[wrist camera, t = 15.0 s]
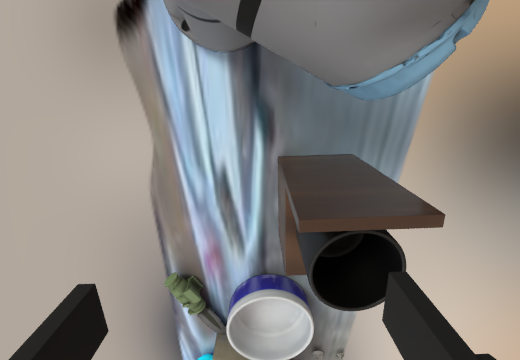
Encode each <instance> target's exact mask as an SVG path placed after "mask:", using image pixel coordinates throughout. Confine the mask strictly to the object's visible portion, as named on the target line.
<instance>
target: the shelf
mask: <svg viewBox="0 0 520 360" xmlns="http://www.w3.org/2000/svg"><path fill="white" fill-rule="evenodd" d="M278 207H279V238H280V244H281V250H282V257H283V263H284V269H285V275H286V276H287V275H307V273H306V270H305V266H304V262H303V259H302V255H301V252H300V248H299V244H298V241H297V237H296V226H297V229H298V232H299V233H305V232H331V231H357V230H384V229H409V228H435V227H443V224H444V218H445V214H444V213H442V212H441V211H439V210H438V209H436V208H435V207H433V206H431V205H430V204H428V203H427V202H425V201H424V200H422V199H421V198H419V197H418V196H416V195H415V194H413V193H411V192H410V191H408V190H407V189H405V188H404V187H402V186H401V185H399V184H398V183H396V182H395V181H393V180H392V179H390V178H389V177H387V176H385V175H384V174H382V173H381V172H379V171H378V170H376V169H375V168H373V167H372V166H370V165H369V164H367V163H366V162H364V161H363V160H361V159H359V158H358V157H356V156H355V155H353V154H339V155H312V156H285V157H278Z"/></svg>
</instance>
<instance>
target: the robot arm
mask: <svg viewBox="0 0 520 360" xmlns="http://www.w3.org/2000/svg"><path fill="white" fill-rule="evenodd" d="M488 2H489V0H164V3H165V6H166V8H167V10H168V13H169V14H170V16H171V18H172V20H173V21H174V23H175V24H176V26H177V27H178V28H179V29H180V30H181V31H182V32H183V34H185V35H186V36H187V37H188V38H189V39H190V40H192V41H193V42H195V43H196V44H198V45H199V46H201V47H203V48H206V49H209V50H212V51H216V52H233V51H238V50H241V49H244V48H246V47H248V46H250V45H251V44H253V43H254V42H257V43H259V44H260V45H262V46H264V47H265V48H267V49H269V50H271V51H272V52H274V53H276V54H278V55H279V56H281V57H283V58H285V59H286V60H288V61H290V62H291V63H293V64H295V65H297V66H298V67H300V68H302V69H304V70H305V71H307V72H309V73H311V74H312V75H314V76H316V77H317V78H319V79H321V80H323V82H324V83H325V84H326V85H328V86H329V87H333V88H334V89H338V90H342V91H344V92H346V93H348V94H350V95H352V96H354V97H356V98H359V99H362V100H380V99H384V98H388V97H391V96H393V95H396V94H398V93H400V92H402V91H404V90H406V89H407V88H409V87H411V86H413V85H414V84H416V83H417V82H419V81H420V80H422V79H423V78H425V77H426V76H427V75H428V74H430V73H431V72H432V71H434V70H435V69H436V68H437V67H438V66H439V65H441V64H442V63H443V62H444V61H445V60H446V59H447V58H448V57H449V56H450V55H451V54H452V53H453V52H454V51H455V50H456V46H455V44H456V42H457V41H459V40H460V39H461V38H463V37H465V36H467V35H469V34H470V33H471V32H472V30H473V29H474V28H475V26H476V25H477V23H478V22H479V20H480V19H481V17H482V15H483V13H484V12H485V10H486V7H487V5H488ZM382 321H383V322H384V324H385V326H386V328H387V330H388V332H389V334H390V335H391V337H392V339H393V341H394V342H395V344H396V346H397V348H398V350H399V352H400V354H401V355H402V357H403V359H404V360H496V359H495V358H494V357H492V356H491V355H490V354H474V353H473V351H472V350H471V349H470V348H469V347H468V345H467V344H466V343H465V342H464V341H463V339H462V338H461V337H460V336H459V335H458V333H457V332H456V331H455V330H454V329H453V327H452V326H451V325H450V324H449V323H448V321H447V320H446V319H445V318H444V317H443V315H442V314H441V313H440V312H439V310H437V308H436V307H435V306H434V305H433V303H432V302H431V301H430V300H429V298H428V297H427V296H426V295H425V294H424V292H423V291H422V290H421V289H420V288H419V286H418V285H417V284H416V283H415V282H414V280H413V279H412V278H411V277H410V276H409V274H408V273H407V272H389V276H388V283H387V290H386V297H385V304H384V311H383V319H382ZM107 333H108V328H107V324H106V320H105V317H104V313H103V310H102V306H101V303H100V299H99V296H98V292H97V289H96V285H95V284H78V285H77V286H76V287H75V288H74V289H73V290H72V291H71V292H70V294H69V295H68V296H67V297H66V298H65V299H64V300H63V301H62V302H61V303H60V304H59V306H58V307H57V308H56V309H55V310H54V311H53V312H52V313H51V314H50V315H49V316H48V317H47V319H46V320H45V321H44V322H43V323H42V324H41V325H40V326H39V327H38V328H37V329H36V330H35V332H34V333H33V334H32V335H31V336H30V337H29V338H28V339H27V340H26V341H25V342H24V344H23V345H22V346H21V347H20V348H19V349H18V350H17V351H16V352H15V353H14V354H13V356H12V357H11V358H10V359H9V360H91V359H92V357H93V356H94V354H95V352H96V351H97V349H98V348H99V346H100V344H101V343H102V341H103V339H104V338H105V336H106V334H107Z"/></svg>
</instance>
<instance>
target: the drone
mask: <svg viewBox="0 0 520 360" xmlns="http://www.w3.org/2000/svg"><path fill="white" fill-rule="evenodd" d="M212 359H213V355H212V354H205V355H203V356H201V357H200V358H198V359H196V360H212Z"/></svg>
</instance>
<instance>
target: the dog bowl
mask: <svg viewBox="0 0 520 360" xmlns="http://www.w3.org/2000/svg"><path fill="white" fill-rule="evenodd" d="M226 332H227V337H228V340H229V342H230V344H231V346H232V347H233V348H234V349H235V350H236V351H237V352H238V353H239V354H241V355H242V356H244V357H246V358H248V359H250V360H289V359H291V358H293V357H295V356H297V355H298V354H300V353H301V352H302V351H304V350H305V349H306V347H307V346H308V345H309V344H310V342H311V340H312V337H313V334H314V322H313V318H312V314H311V311H310V307H309V304H308V301H307V298H306V295H305V293H304V291H303V289H302V288H301V287H300V286H299V285H298V284H297V283H296V282H294V281H293V280H291V279H289V278H287V277H284V276H280V275H274V274H266V275H259V276H255V277H252V278H250V279H248V280H246V281H245V282H243V283H242V284H241V285H240V286H239V287H238V288H237V289H236V290H235V292H234V294H233V296H232V298H231V302H230V307H229V313H228V320H227V327H226Z"/></svg>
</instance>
